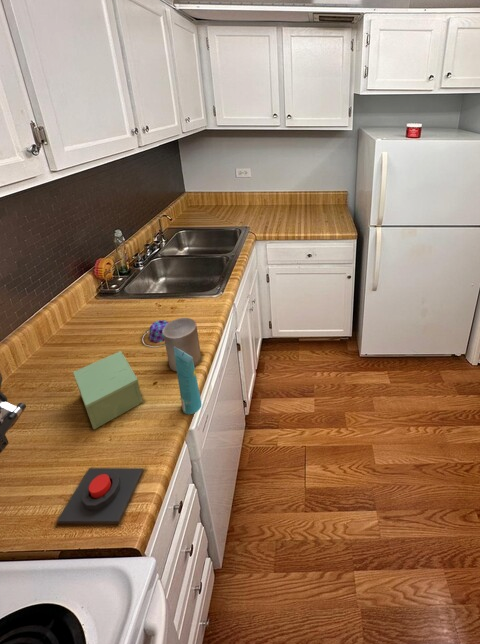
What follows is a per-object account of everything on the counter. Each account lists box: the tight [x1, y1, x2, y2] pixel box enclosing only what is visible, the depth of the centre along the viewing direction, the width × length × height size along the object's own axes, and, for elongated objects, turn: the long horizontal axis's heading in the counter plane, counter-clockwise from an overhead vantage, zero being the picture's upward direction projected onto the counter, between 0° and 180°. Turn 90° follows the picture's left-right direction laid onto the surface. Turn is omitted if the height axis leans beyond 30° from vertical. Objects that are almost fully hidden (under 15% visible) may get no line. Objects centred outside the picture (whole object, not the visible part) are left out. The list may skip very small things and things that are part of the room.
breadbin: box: [73, 375, 144, 431], centre depth 90 cm, size 14×12×9 cm
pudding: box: [142, 319, 169, 348], centre depth 116 cm, size 12×12×5 cm
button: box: [89, 474, 111, 498], centre depth 68 cm, size 4×4×2 cm
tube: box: [174, 347, 202, 415], centre depth 87 cm, size 7×5×19 cm, turn 63°
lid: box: [72, 350, 139, 409], centre depth 88 cm, size 15×12×1 cm
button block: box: [56, 467, 144, 525], centre depth 69 cm, size 12×10×4 cm
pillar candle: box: [162, 317, 202, 372], centre depth 103 cm, size 10×10×15 cm
